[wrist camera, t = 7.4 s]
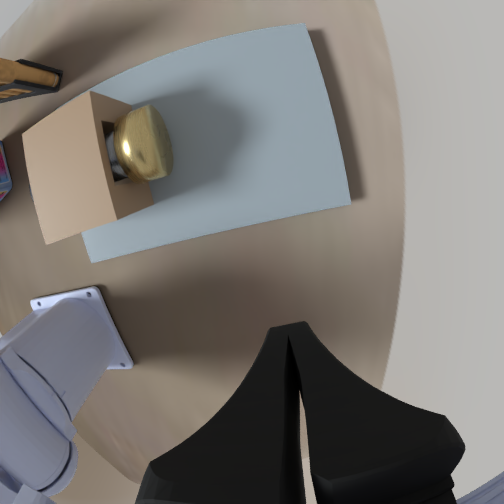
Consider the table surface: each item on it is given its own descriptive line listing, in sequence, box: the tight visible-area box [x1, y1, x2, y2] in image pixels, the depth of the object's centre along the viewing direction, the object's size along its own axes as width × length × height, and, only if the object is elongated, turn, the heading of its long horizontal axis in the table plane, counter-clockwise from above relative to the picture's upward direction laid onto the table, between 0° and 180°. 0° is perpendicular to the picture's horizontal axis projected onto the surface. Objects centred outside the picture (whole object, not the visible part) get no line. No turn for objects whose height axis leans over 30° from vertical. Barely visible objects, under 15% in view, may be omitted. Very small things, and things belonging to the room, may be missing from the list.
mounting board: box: [22, 23, 351, 263], centre depth 14 cm, size 18×12×6 cm, turn 103°
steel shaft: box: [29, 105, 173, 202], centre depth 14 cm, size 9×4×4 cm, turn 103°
